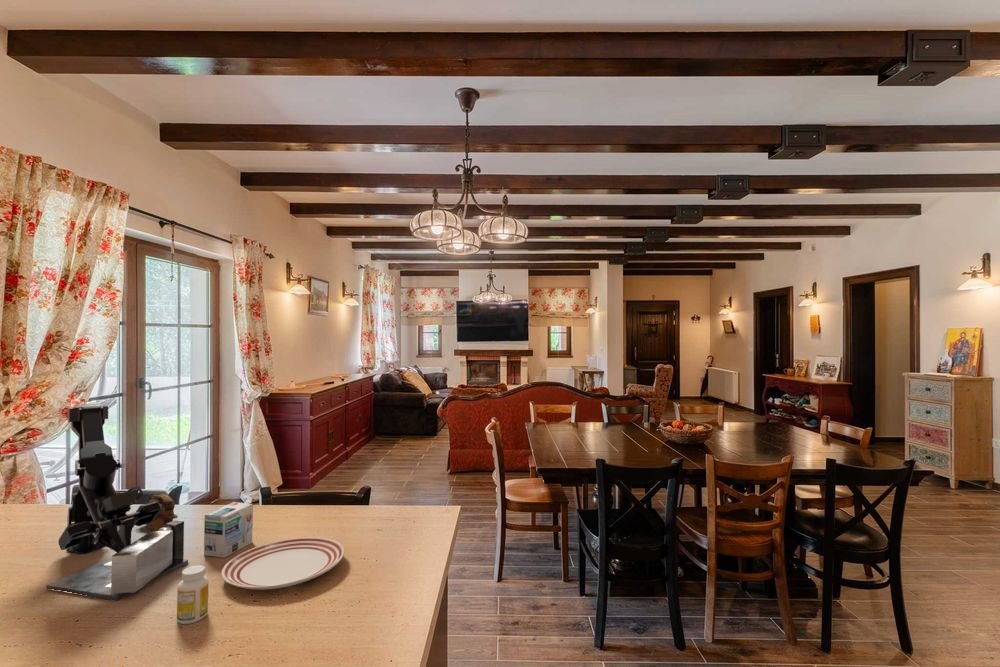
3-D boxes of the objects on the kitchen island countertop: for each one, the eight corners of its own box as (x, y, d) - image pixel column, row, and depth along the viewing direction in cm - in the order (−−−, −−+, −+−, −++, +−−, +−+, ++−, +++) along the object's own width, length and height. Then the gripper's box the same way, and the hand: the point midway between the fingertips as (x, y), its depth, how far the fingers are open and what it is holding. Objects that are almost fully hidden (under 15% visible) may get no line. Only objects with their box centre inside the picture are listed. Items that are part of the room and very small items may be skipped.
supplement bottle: (181, 628, 94) (182, 578, 94) (172, 618, 98) (173, 570, 98) (212, 616, 98) (212, 569, 98) (202, 606, 102) (203, 561, 102)
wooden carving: (131, 527, 144) (131, 494, 145) (147, 522, 149) (148, 490, 149) (167, 536, 138) (167, 501, 138) (183, 531, 142) (183, 497, 142)
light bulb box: (224, 558, 124) (225, 516, 125) (202, 556, 126) (203, 514, 126) (253, 541, 135) (254, 503, 135) (232, 539, 136) (233, 501, 136)
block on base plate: (46, 589, 108) (47, 544, 109) (128, 553, 127) (129, 515, 127) (116, 601, 104) (117, 554, 104) (191, 561, 122) (192, 522, 122)
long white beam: (111, 593, 104) (111, 556, 104) (156, 559, 120) (157, 527, 120) (135, 592, 105) (136, 555, 105) (178, 558, 121) (178, 526, 121)
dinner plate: (192, 587, 110) (193, 573, 110) (284, 541, 136) (284, 529, 136) (287, 611, 101) (287, 595, 101) (366, 556, 126) (366, 544, 126)
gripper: (66, 489, 104) (92, 550, 99) (158, 468, 121) (184, 520, 116) (47, 519, 107) (71, 580, 102) (139, 495, 124) (164, 546, 119)
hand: (127, 554), depth 110 cm, fingers closed
